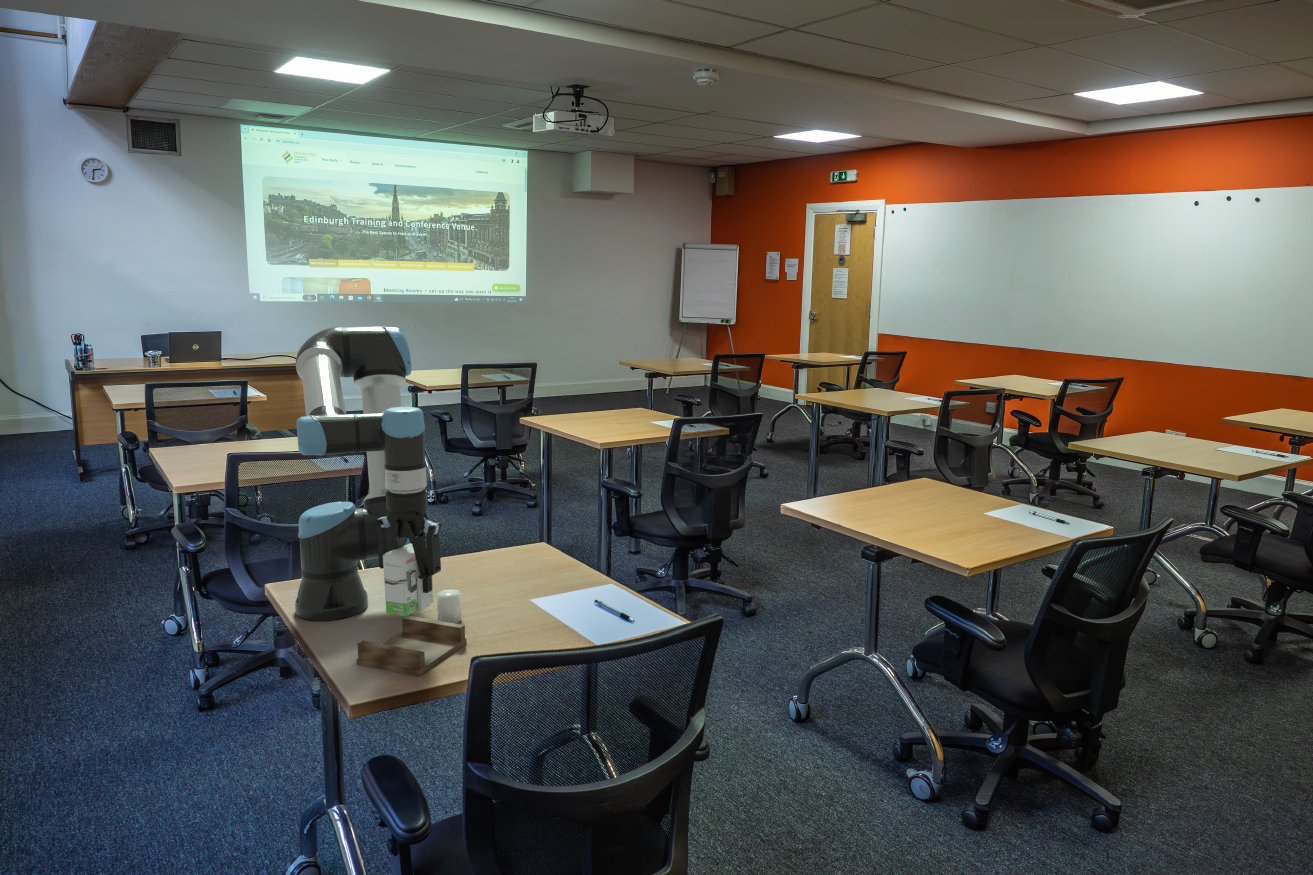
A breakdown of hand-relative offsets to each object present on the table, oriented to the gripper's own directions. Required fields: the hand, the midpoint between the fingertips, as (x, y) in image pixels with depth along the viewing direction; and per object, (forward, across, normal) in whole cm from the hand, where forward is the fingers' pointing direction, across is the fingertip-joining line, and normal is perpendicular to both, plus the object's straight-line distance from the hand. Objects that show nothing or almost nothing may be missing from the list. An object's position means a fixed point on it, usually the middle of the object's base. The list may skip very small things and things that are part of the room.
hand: (411, 605), depth 163 cm
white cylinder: (+10, -3, +17) cm, 20 cm away
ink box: (+1, 0, 0) cm, 1 cm away
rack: (+10, 0, 0) cm, 10 cm away
